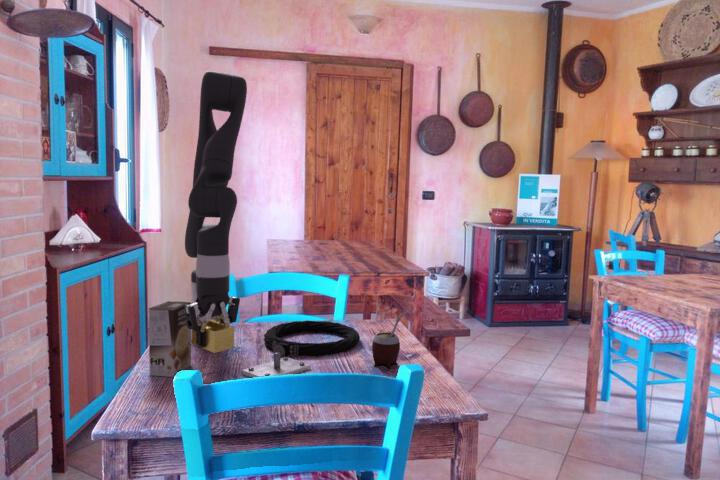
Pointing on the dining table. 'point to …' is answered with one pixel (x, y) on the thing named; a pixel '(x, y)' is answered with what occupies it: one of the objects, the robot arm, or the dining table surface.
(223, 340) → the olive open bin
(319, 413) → the dining table surface
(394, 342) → the mate gourd
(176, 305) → the coffee box
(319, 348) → the cable lock
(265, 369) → the plate
